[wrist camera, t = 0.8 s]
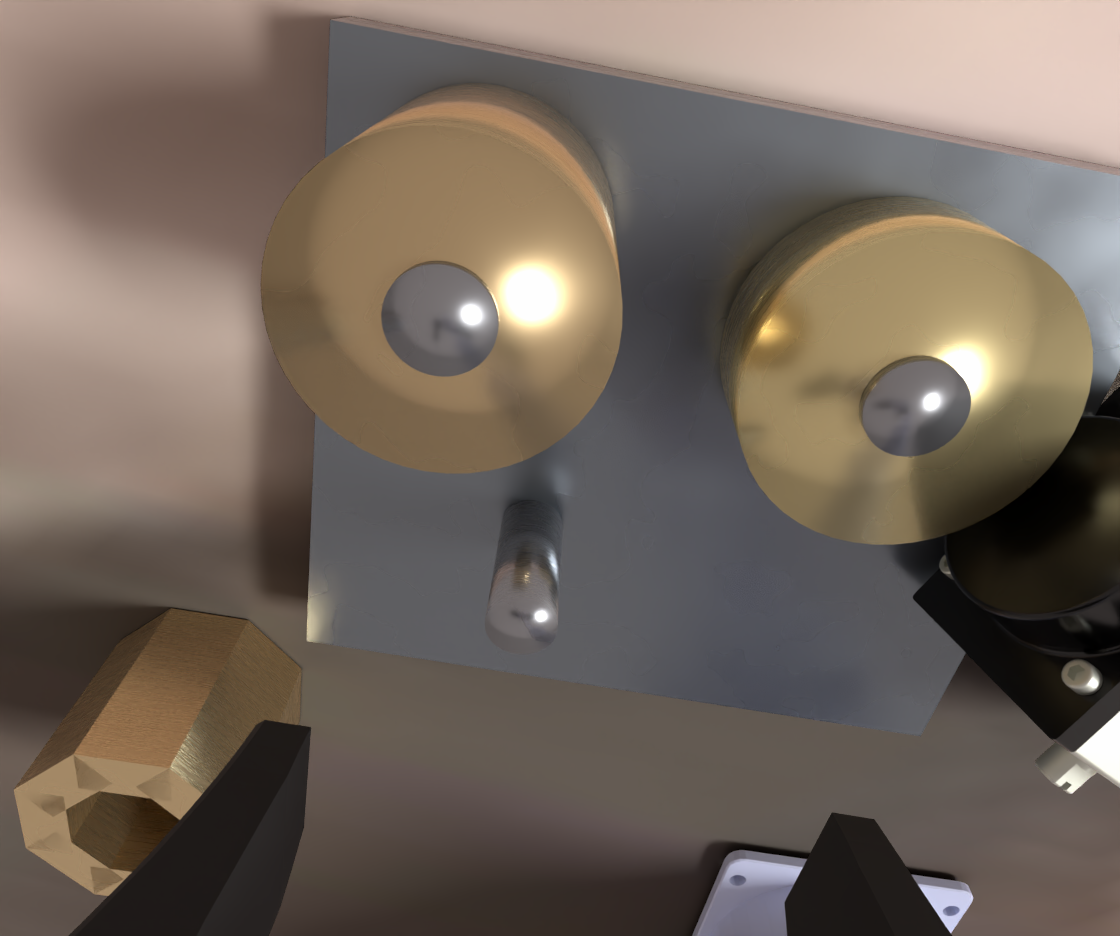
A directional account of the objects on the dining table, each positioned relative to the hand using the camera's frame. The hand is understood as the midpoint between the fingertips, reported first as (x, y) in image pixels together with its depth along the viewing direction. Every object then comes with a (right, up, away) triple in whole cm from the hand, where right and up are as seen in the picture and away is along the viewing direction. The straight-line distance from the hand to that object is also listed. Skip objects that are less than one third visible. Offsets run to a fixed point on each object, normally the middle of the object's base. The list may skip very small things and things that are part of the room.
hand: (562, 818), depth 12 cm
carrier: (+3, +6, +8) cm, 10 cm away
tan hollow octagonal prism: (-10, -1, +13) cm, 16 cm away
